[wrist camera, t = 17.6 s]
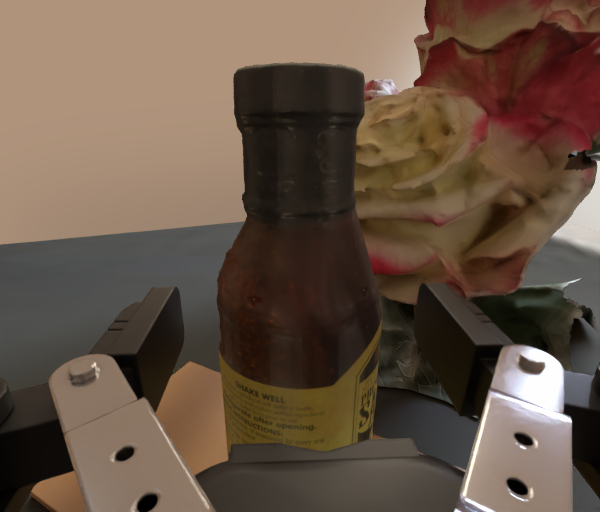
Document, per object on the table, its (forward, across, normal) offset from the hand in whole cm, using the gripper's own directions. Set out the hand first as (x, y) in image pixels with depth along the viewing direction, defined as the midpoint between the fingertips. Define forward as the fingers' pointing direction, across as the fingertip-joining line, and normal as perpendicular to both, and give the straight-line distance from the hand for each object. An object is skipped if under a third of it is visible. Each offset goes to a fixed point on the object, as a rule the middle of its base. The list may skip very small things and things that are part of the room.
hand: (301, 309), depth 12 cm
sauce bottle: (+1, 0, -13) cm, 13 cm away
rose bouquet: (+19, +12, -13) cm, 26 cm away
